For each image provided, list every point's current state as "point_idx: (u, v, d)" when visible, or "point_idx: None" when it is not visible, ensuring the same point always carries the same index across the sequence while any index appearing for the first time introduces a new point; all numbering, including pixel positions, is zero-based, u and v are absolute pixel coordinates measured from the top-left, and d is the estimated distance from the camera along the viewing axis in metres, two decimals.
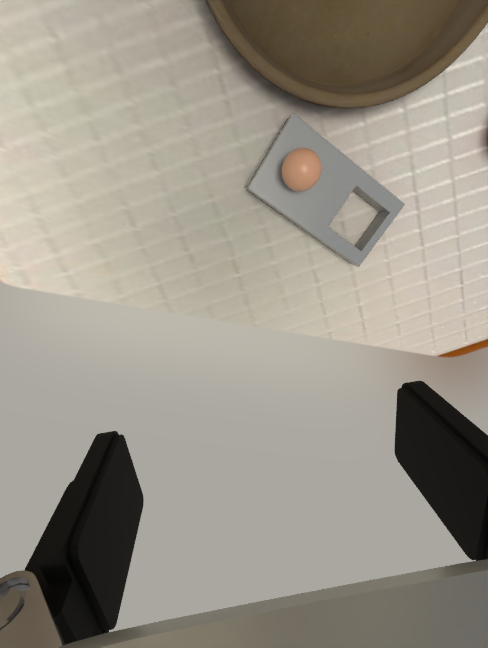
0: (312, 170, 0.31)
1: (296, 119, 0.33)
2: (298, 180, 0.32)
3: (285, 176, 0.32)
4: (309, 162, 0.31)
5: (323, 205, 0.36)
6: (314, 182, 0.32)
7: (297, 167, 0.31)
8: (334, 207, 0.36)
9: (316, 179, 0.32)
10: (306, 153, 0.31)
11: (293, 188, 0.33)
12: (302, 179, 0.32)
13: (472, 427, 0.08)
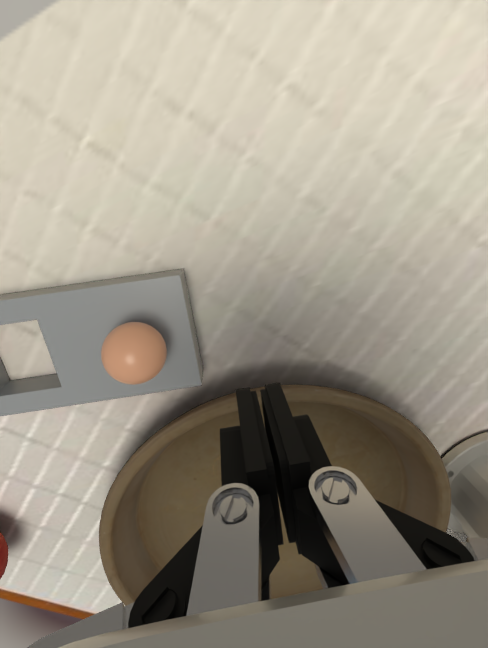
0: (117, 370, 0.19)
1: (192, 383, 0.24)
2: (122, 344, 0.19)
3: (145, 332, 0.20)
4: (130, 374, 0.19)
5: (71, 336, 0.22)
6: (102, 358, 0.20)
7: (138, 357, 0.19)
8: (56, 346, 0.22)
9: (103, 363, 0.20)
10: (144, 377, 0.20)
11: (121, 328, 0.20)
12: (118, 350, 0.19)
13: (291, 424, 0.09)
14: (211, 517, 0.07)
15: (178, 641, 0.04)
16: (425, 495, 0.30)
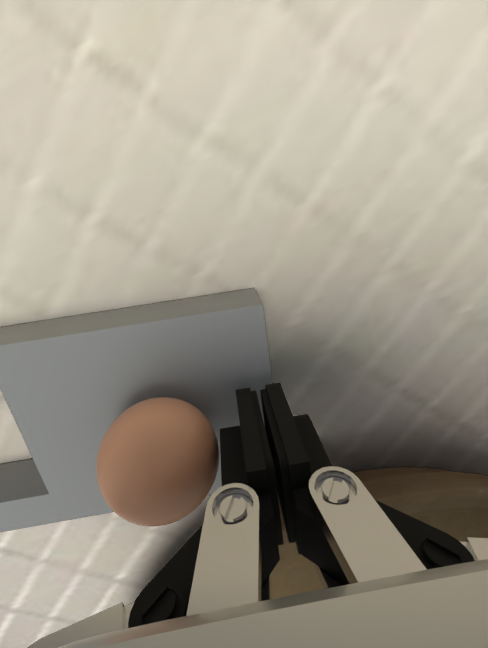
0: (127, 512, 0.09)
1: None
2: (137, 463, 0.09)
3: (182, 428, 0.10)
4: (153, 519, 0.09)
5: (64, 413, 0.12)
6: (98, 480, 0.10)
7: (170, 488, 0.09)
8: (38, 430, 0.13)
9: (100, 489, 0.10)
10: (181, 517, 0.10)
11: (135, 420, 0.10)
12: (129, 475, 0.09)
13: (291, 425, 0.09)
14: (211, 517, 0.07)
15: (178, 641, 0.04)
16: None
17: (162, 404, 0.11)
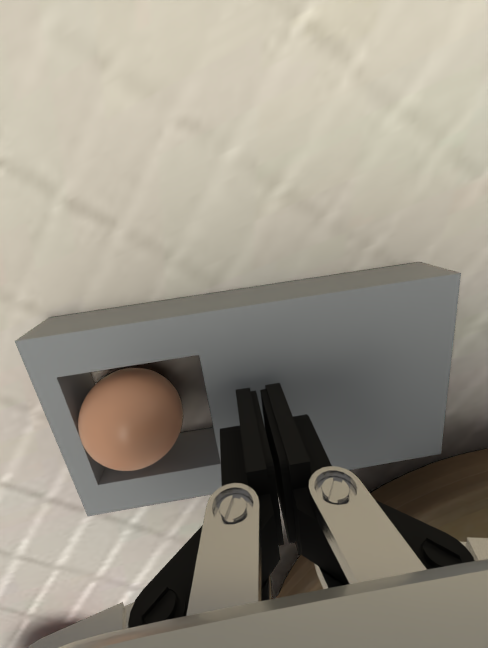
0: None
1: (428, 451, 0.15)
2: None
3: (90, 390, 0.13)
4: None
5: (253, 381, 0.13)
6: None
7: None
8: (224, 399, 0.13)
9: None
10: None
11: (124, 370, 0.13)
12: None
13: (291, 425, 0.09)
14: (211, 517, 0.07)
15: (178, 641, 0.04)
16: None
17: (110, 383, 0.12)
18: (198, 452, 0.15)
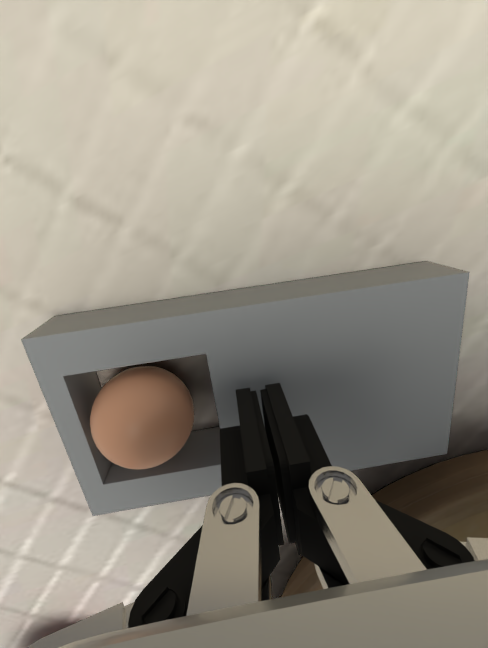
0: None
1: (434, 451, 0.15)
2: None
3: (100, 390, 0.12)
4: None
5: (260, 380, 0.12)
6: None
7: None
8: (231, 398, 0.13)
9: None
10: None
11: (134, 368, 0.13)
12: None
13: (291, 425, 0.09)
14: (211, 517, 0.07)
15: (178, 641, 0.04)
16: None
17: (123, 381, 0.12)
18: (203, 452, 0.15)
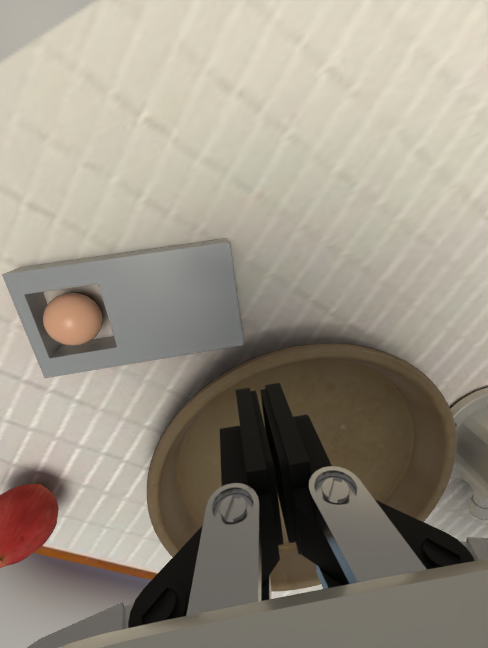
0: None
1: (235, 343, 0.27)
2: None
3: None
4: None
5: (129, 299, 0.24)
6: None
7: None
8: (114, 308, 0.24)
9: None
10: None
11: None
12: None
13: (291, 425, 0.09)
14: (211, 517, 0.07)
15: (178, 641, 0.04)
16: (434, 444, 0.33)
17: (60, 297, 0.24)
18: (107, 344, 0.26)
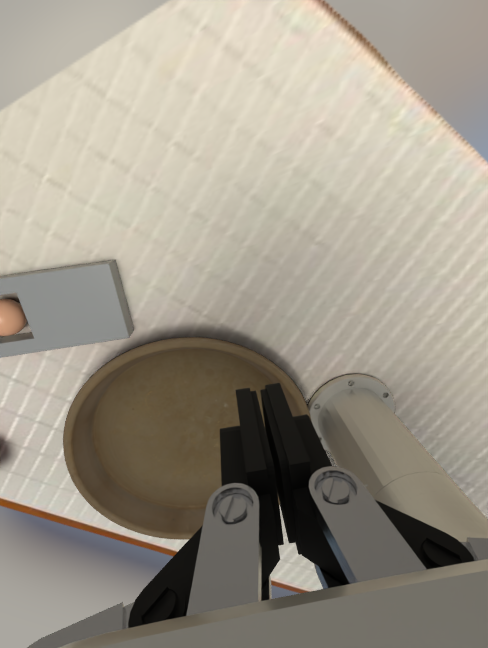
0: None
1: (122, 336, 0.36)
2: None
3: None
4: None
5: (39, 303, 0.34)
6: None
7: None
8: (29, 310, 0.34)
9: None
10: None
11: None
12: None
13: (291, 425, 0.09)
14: (211, 517, 0.07)
15: (178, 641, 0.04)
16: None
17: None
18: (29, 336, 0.36)
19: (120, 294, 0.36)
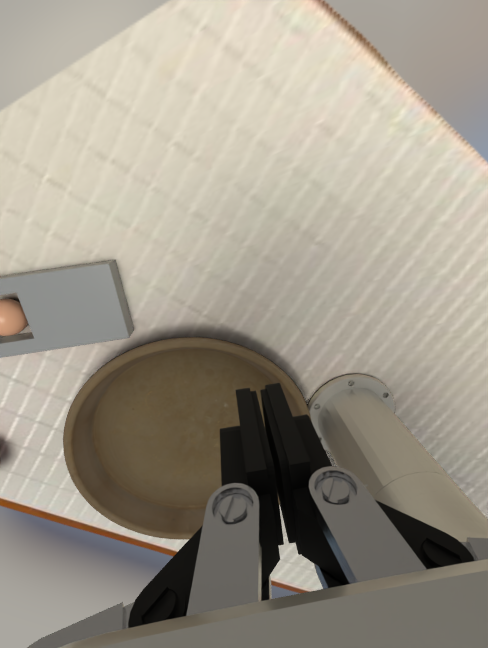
0: None
1: (122, 336, 0.36)
2: None
3: None
4: None
5: (39, 303, 0.34)
6: None
7: None
8: (30, 310, 0.34)
9: None
10: None
11: (0, 299, 0.34)
12: None
13: (291, 424, 0.09)
14: (211, 517, 0.07)
15: (178, 641, 0.04)
16: None
17: None
18: (29, 336, 0.36)
19: (120, 294, 0.36)
